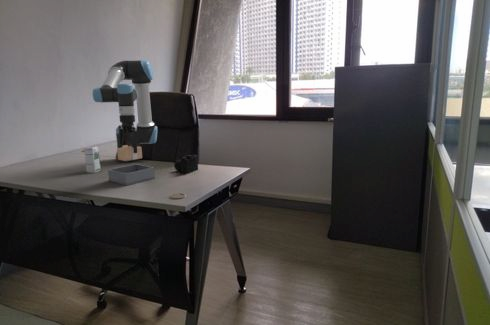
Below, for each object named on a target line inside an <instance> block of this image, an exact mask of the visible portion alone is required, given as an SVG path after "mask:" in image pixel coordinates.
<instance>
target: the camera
mask: <svg viewBox="0 0 490 325" xmlns="http://www.w3.org/2000/svg"><path fill="white" fill-rule="evenodd" d="M198 161H199V159H198V155H197V154H194V153H193V154H192V155H191V154H189V155H184V156H183V157H182V158H181V159H176V160H175V161H174V165H173V166H174V170H176V171H179V172H180V173H181V175H188V174H190V173H193V172H196V171H199V162H198Z"/></svg>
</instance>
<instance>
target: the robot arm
mask: <svg viewBox="0 0 490 325" xmlns="http://www.w3.org/2000/svg"><path fill="white" fill-rule="evenodd" d="M153 73H154V72H153V68H152V65H151V62H149V61H148V60H121V61H119V62H116V63H115V64H112V66H111V67H110V68H109V69H108V71H107V77H105V79H104V81H103V83H102V84H101V85H100V87H96V88H95V87H94V88H93V90H92V98H93V101H94V102H95V103H101V104H102V103H118V113H119V122H120V123H121V124H119V125H118V126H117V127H116V128H115V135H116V136H115V137H116V147H117V148H122V147H129V146H131V149H132V160H130V161H123V160H118V152H117V151H116V154H115V156H114V157H115V158H114V159H115V161H116V162H134V161H138V160H139V159H138V158H137V146H138V147H141V145H142V144H143V145H145V144H147V145H150V144H155V143H156V142H157V139H158V126H157V125H156V123H155V122H154V121H153V119H152V117H153V116H152V107H151V95H150V84H151V83H152V80H154V74H153ZM127 80H128V81H131V83H132V84H131V83H121V82H123V81H127ZM133 85H134V88H133ZM135 101H136V108H137V118H138V122H136V116H135V111H136V110H135V103H134V102H135ZM135 122H136V126H135V125H134V123H135ZM117 148H116V149H117ZM134 159H135V160H134Z"/></svg>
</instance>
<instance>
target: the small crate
mask: <svg viewBox="0 0 490 325" xmlns="http://www.w3.org/2000/svg"><path fill="white" fill-rule="evenodd" d="M117 152H118V160H123V161H128V162H131V161H130V160H132V149H131V146H129V147H122V148H116V153H117ZM137 158H138V160H139V159H143V150H142V146H137ZM134 160H135V159H134ZM135 161H136V160H135Z"/></svg>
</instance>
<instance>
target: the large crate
mask: <svg viewBox="0 0 490 325" xmlns="http://www.w3.org/2000/svg"><path fill="white" fill-rule="evenodd" d="M107 172H108V173H107V174H108V182H112V183H114V184H115V183H116V184H119V185H123V186H131V185H135V184H137V183H142V182H146V181H149V180H153V179H155V176H156V175H155V167H154V166H149V165H143V164H140V163H134V164H129V165H125V166H119V167H115V168H110V169H107Z"/></svg>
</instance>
